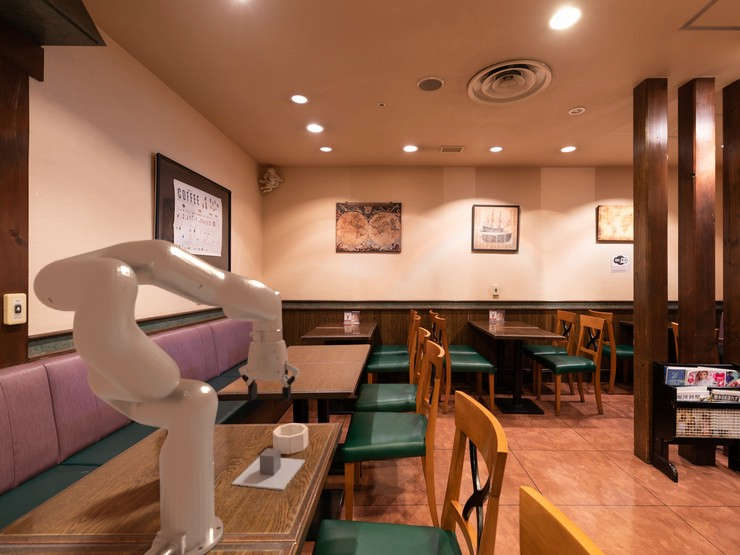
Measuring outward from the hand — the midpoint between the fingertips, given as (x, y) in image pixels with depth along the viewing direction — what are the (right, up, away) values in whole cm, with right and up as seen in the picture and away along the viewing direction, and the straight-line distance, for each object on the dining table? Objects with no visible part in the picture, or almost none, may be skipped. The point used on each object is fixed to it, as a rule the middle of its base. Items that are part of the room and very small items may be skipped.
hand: (269, 399), depth 95 cm
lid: (0, -20, 0) cm, 20 cm away
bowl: (+2, -19, +14) cm, 24 cm away
